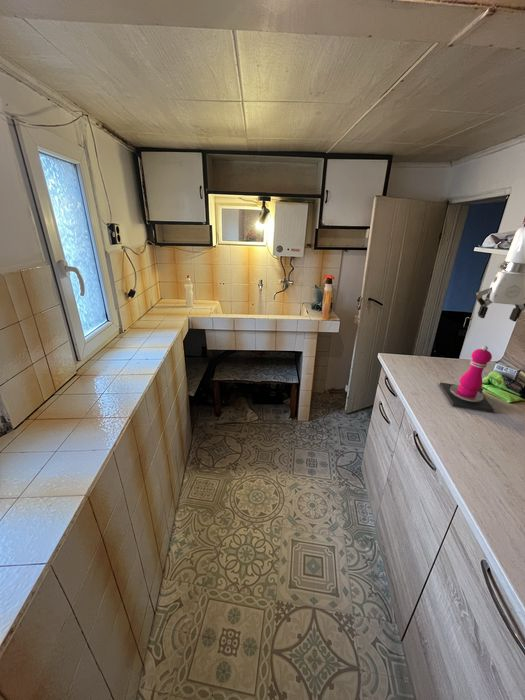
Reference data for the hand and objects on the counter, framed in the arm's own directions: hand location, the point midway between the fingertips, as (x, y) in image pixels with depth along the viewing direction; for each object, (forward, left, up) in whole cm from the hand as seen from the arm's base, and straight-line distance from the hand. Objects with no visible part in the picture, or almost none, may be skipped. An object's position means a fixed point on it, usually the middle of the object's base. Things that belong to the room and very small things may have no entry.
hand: (496, 318), depth 98 cm
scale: (-1, -2, -34) cm, 34 cm away
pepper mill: (0, 0, -31) cm, 31 cm away
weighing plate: (0, 0, -31) cm, 31 cm away
